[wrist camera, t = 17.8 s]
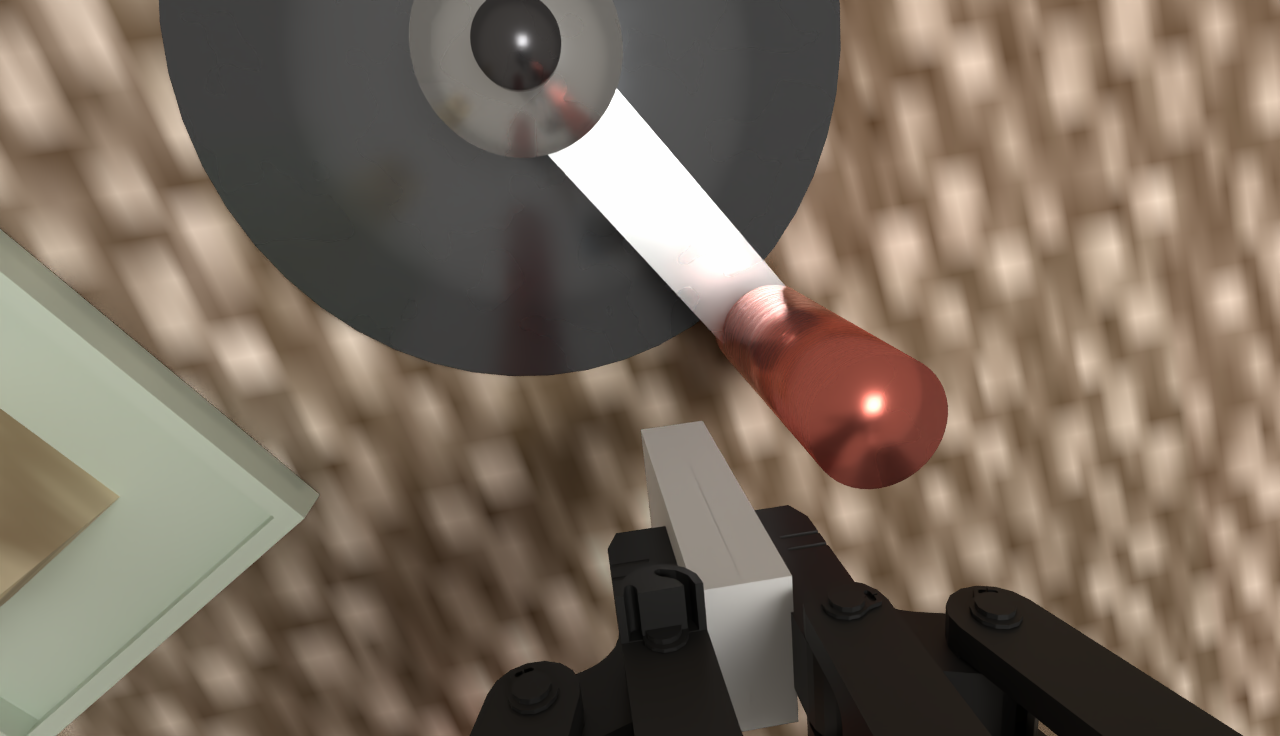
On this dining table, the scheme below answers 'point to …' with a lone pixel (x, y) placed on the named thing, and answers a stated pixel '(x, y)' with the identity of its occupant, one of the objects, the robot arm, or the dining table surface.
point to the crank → (689, 242)
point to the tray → (120, 500)
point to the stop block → (40, 504)
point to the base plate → (489, 164)
